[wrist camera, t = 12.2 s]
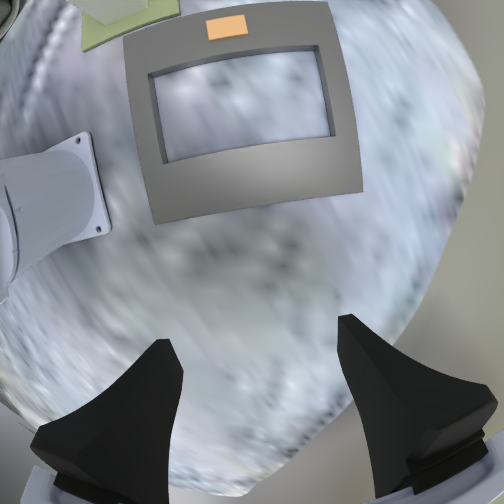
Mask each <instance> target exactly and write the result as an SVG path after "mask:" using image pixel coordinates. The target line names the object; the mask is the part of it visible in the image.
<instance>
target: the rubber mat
mask: <svg viewBox="0 0 504 504" xmlns="http://www.w3.org/2000/svg"><path fill="white" fill-rule="evenodd" d="M178 15H180V7H179V0H148V8H147V9H144V10H141V11H139V12H136V13H134V14H131V15H129V16H126V17H124V18H121V19H119V20H117V21H115V22H112V23H110V24H108V25H106V26H105V25H103V24H102V23H100V22H99V21H97V20H96V19H94V18H93V17H91V16H90V15H88V14H87V13H85V12H83V15H82V52H84V53H85V52H86V51H88V50H90V49H92V48H94V47H96V46H98V45H100V44H103V43H105V42H107V41H109V40H111V39H113V38H116V37H118V36H120V35H123V34H125V33H128V32H130V31H133V30H135V29H138V28H141V27H143V26H146V25H149V24H152V23H155V22H158V21H161V20H164V19H167V18H171V17H174V16H178Z"/></svg>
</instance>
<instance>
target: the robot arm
mask: <svg viewBox="0 0 504 504" xmlns="http://www.w3.org/2000/svg"><path fill="white" fill-rule="evenodd" d="M79 138H80V139H81V142H80V143H79V142H78V140H79ZM98 226H100V227H101V231H100V230H99V229H98ZM110 230H111V224H110V221H109V217H108V213H107V210H106V206H105V202H104V198H103V194H102V190H101V186H100V181H99V177H98V172H97V167H96V163H95V157H94V152H93V147H92V141H91V135H90V133H89V132H82V133H79V134H77V135H75V136H73V137H71V138H69V139H67V140H65V141H63V142H61V143H59V144H57V145H55V146H53V147H51V148H49V149H48V150H46V151H44V152H41V153H35V154H29V155H23V156H18V157H12V158H7V159H3V160H0V303H1V302H2V301H3V300H4V299H5V298H7V297H8V286H9V284H10V283H11V282H12V281H13V280H15V279H16V278H17V277H18V276H20V275H21V274H22V273H24V272H25V271H26V270H28V269H29V268H30V267H32V266H33V265H34V264H36V263H37V262H39V261H40V260H41V259H43V258H44V257H46V256H47V255H49V254H50V253H51V252H53V251H54V250H56V249H57V248H59V247H60V246H62V245H64V244H68V243H72V242H76V241H80V240H84V239H88V238H92V237H96V236H100V235H104V234H107V233H109V232H110ZM337 353H338V357H339V361H340V364H341V368H342V371H343V374H344V376H345V379H346V381H347V384H348V386H349V389H350V391H351V394H352V396H353V399H354V401H355V404H356V406H357V408H358V411H359V414H360V417H361V420H362V424H363V428H364V432H365V436H366V441H367V445H368V450H369V455H370V460H371V466H372V472H373V479H374V486H375V497H376V499H375V500H372V501H368V502H365V503H362V504H490V503H491V502H492V501H494V500H495V499H496V498H497V497H498V496H500V495H501V494H502V493H503V492H504V429H502V430H501V431H500V432H498V433H497V434H495V435H494V436H493V437H491V438H490V439H489V440H488V441H487V442H485V443H484V441H483V439H482V438H483V437H484V436H485V433H484V431H483V429H482V427H483V426H484V425H485V424H486V422H487V421H488V420H489V419H490V417H491V416H492V415H493V413H494V412H495V410H496V408H497V405H498V401H497V400H496V398H495V397H494V395H493V394H492V392H491V391H490V389H489V388H488V387H487V386H486V385H484V384H478V383H474V382H469V381H465V380H461V379H458V378H455V377H451V376H448V375H446V374H443V373H440V372H438V371H436V370H433V369H431V368H429V367H427V366H425V365H422V364H421V363H419V362H417V361H415V360H413V359H411V358H410V357H408V356H406V355H405V354H403V353H401V352H400V351H398V350H397V349H395V348H394V347H393V346H391V345H390V344H388V343H387V342H386V341H385V340H383V339H382V338H381V337H379V336H378V335H377V334H376V333H374V332H373V331H372V330H371V329H370V328H368V327H367V326H366V325H365V324H364V323H362V322H361V321H360V320H359V319H358V318H357V317H355V316H354V315H353V314H348V315H343V316H338V343H337ZM183 372H184V371H183V369H182V366H181V364H180V362H179V360H178V358H177V356H176V353H175V351H174V349H173V346H172V344H171V342H170V340H169V339H157V340H156V341H155V342H154V343H153V344H152V345H151V346H150V347H149V348H148V349H147V350H146V351H145V352H144V353H143V354H142V355H141V356H140V357H139V358H138V359H137V360H136V362H135V363H134V364H133V365H132V366H131V367H130V368H129V369H128V370H127V371H126V372H125V373H124V374H123V375H122V376H120V377H119V378H118V379H117V380H116V381H115V382H114V383H113V384H112V385H111V386H110V387H109V388H107V389H106V390H105V391H104V392H102V393H101V394H100V395H98V396H97V397H96V398H94V399H93V400H91V401H90V402H88V403H87V404H85V405H84V406H82V407H81V408H79V409H77V410H76V411H74V412H72V413H70V414H68V415H66V416H64V417H62V418H60V419H57V420H55V421H52V422H50V423H47V424H44V425H41V426H40V427H39V428H38V431H37V432H36V434H35V437H34V439H33V441H32V443H31V445H30V448H31V450H32V451H33V452H34V453H35V454H36V455H37V456H38V457H39V458H40V459H42V460H43V461H44V462H45V463H46V464H48V465H49V466H50V467H52V468H53V469H54V470H56V471H57V472H58V473H57V475H56V476H54V475H53V474H51V473H49V472H47V471H45V470H43V469H41V468H39V467H37V466H34V468H33V470H32V472H31V475H30V477H29V480H28V482H27V485H26V487H25V490H24V493H23V496H22V498H21V501H20V503H21V504H169V493H168V464H169V449H170V439H171V433H172V428H173V424H174V420H175V416H176V412H177V408H178V404H179V399H180V395H181V391H182V383H183Z"/></svg>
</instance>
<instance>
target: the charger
mask: <svg viewBox="0 0 504 504" xmlns="http://www.w3.org/2000/svg"><path fill="white" fill-rule="evenodd" d="M65 1H67V2H69V3H70V4H72V5H74V6H75V7H77V8H79V9H80V10H82V11H83V12H85V13H87V14H88V15H90V16H91V17H93V18H94V19H96V20H97V21H99V22H100V23H102V24H103V25H105V26H106V25H108V24H110V23H112V22H115V21H117V20H119V19H121V18H124V17H126V16H129V15H131V14H134V13H136V12H139V11H141V10H144V9H147V8H148V0H65Z"/></svg>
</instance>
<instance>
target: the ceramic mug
mask: <svg viewBox="0 0 504 504" xmlns="http://www.w3.org/2000/svg"><path fill="white" fill-rule="evenodd" d="M19 6H20V0H0V39H1V38H2V37H3V36H4V35H5V34H6V32H7V31H8V30H9V29H10V27H11V26H12V24H13V22H14V21H15V19H16V17H17V14H18V11H19Z"/></svg>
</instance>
